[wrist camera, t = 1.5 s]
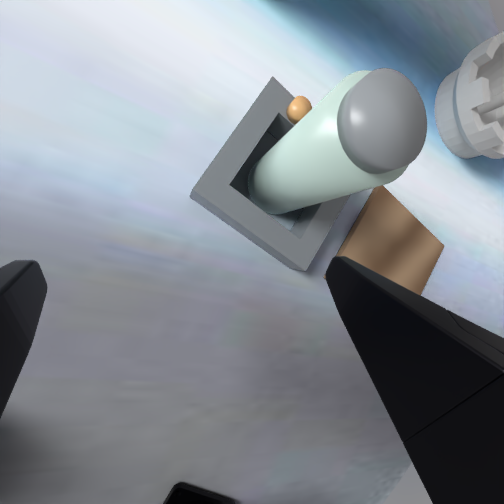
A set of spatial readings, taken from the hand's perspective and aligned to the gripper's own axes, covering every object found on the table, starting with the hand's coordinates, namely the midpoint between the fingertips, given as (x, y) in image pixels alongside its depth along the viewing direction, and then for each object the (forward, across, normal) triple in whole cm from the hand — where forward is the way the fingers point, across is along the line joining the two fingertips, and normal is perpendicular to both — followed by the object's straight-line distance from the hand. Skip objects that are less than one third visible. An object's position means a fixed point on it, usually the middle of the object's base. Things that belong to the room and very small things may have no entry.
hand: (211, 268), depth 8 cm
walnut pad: (+11, -22, +9) cm, 26 cm away
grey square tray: (+15, -8, +3) cm, 17 cm away
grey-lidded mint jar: (+15, -8, +3) cm, 17 cm away
